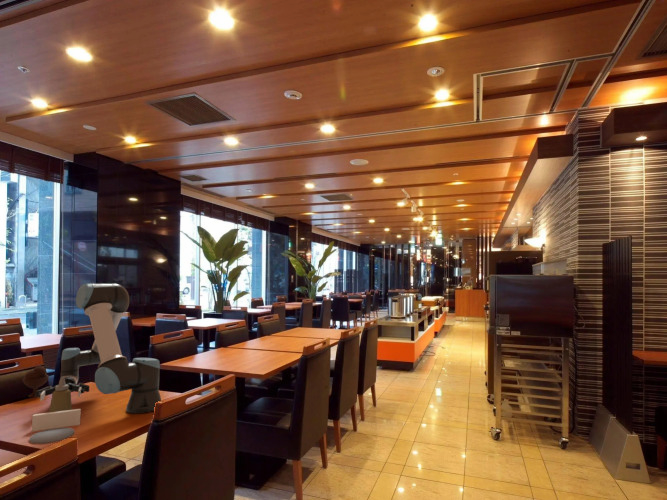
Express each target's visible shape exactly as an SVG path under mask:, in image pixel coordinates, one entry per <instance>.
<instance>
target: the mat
mask: <svg viewBox="0 0 667 500" xmlns="http://www.w3.org/2000/svg"><path fill="white" fill-rule="evenodd" d="M74 434H75V429H74V428H71V427H61V428H54V429H47V430H40V431H37V432H36V433H34V434H32V435H31V436H30V437H29V440H30V441H29V443H31V442H32V443H31V444H35V443H38V445H43V444H50V443H56V442H60V441H63V439H64V440H66V439H68V438H70V437H69V436H71V437H72V436H74Z"/></svg>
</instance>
